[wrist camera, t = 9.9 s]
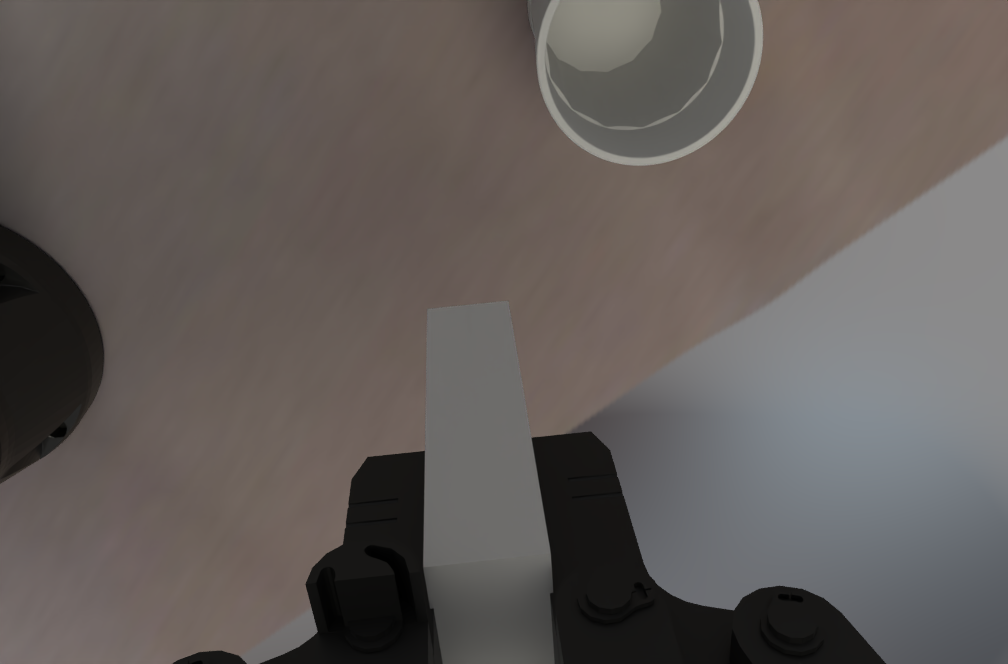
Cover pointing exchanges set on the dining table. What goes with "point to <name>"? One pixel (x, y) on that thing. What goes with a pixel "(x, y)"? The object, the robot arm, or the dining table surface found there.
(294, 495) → the dining table surface
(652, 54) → the cup
